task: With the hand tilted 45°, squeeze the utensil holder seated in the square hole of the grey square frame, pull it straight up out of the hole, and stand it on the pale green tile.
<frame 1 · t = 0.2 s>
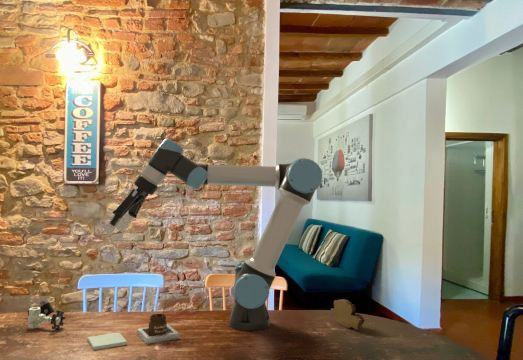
hand: (113, 231, 144), 35 cm above the table, tool tilted 35°, fingers open, 13 cm apart
green tile: (106, 342, 136), on the table
lighter: (40, 318, 161), on the table
utensil holder: (157, 337, 143), resting in grey square frame
wooden carving: (346, 327, 159), on the table
grey square frame: (157, 336, 143), on the table
valve: (43, 328, 149), on the table
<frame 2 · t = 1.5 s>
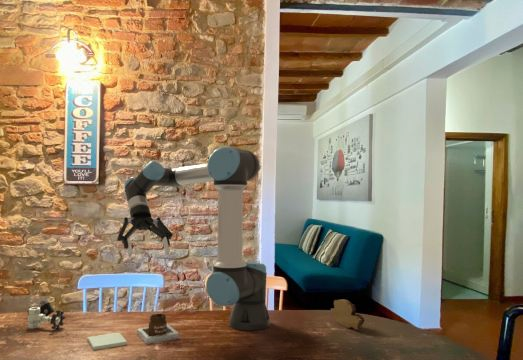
hand: (149, 254, 153), 26 cm above the table, tool tilted 45°, fingers open, 13 cm apart
nothing on the table moved.
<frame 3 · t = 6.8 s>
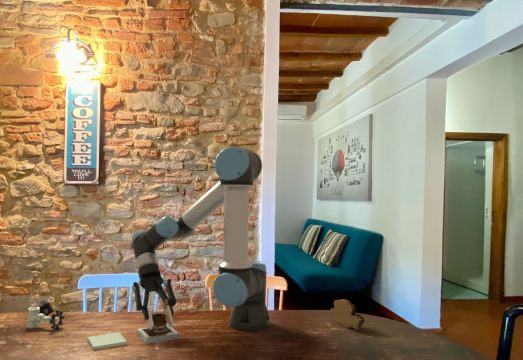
hand: (161, 326, 140), 4 cm above the table, tool tilted 45°, fingers closed on utensil holder, 6 cm apart
utensil holder: (157, 336, 143), resting in grey square frame, touching gripper
everything else where it was.
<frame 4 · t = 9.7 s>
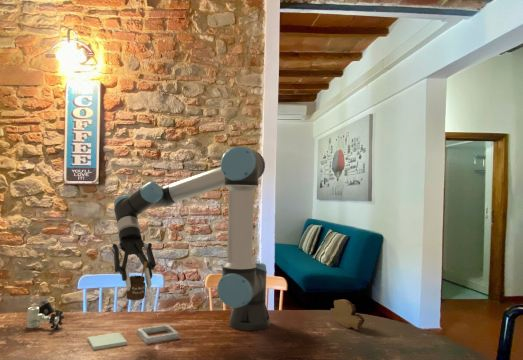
hand: (139, 287, 139), 17 cm above the table, tool tilted 45°, fingers closed on utensil holder, 6 cm apart
utensil holder: (135, 298, 142), point 13 cm above the table, touching gripper
everything else where it was.
when the fingers open (6 cm above the table, at t = 13.0 s): utensil holder stays where it is, resting on green tile.
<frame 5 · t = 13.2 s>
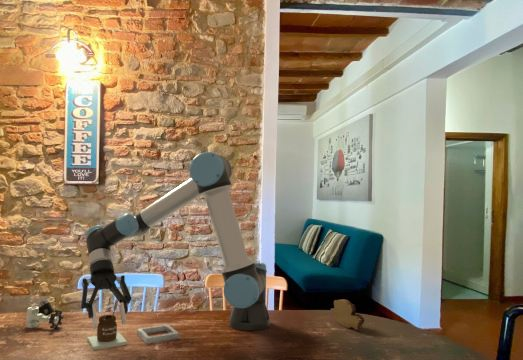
hand: (110, 324, 134), 7 cm above the table, tool tilted 45°, fingers open, 8 cm apart
utensil holder: (107, 339, 137), point 1 cm above the table, touching green tile
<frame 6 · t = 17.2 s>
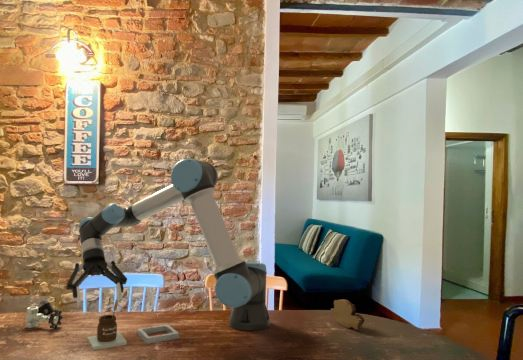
hand: (100, 302, 146), 10 cm above the table, tool tilted 45°, fingers open, 13 cm apart
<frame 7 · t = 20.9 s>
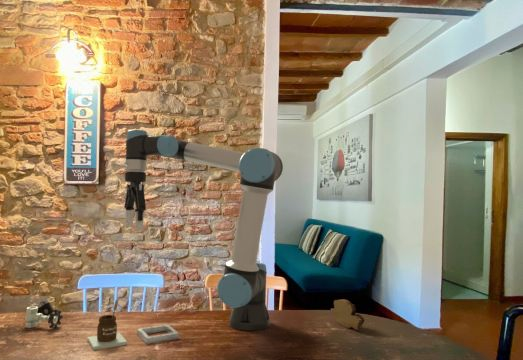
hand: (133, 228, 158), 35 cm above the table, tool pointing down, fingers open, 13 cm apart
at the end: utensil holder 0.0 cm off-centre on the green tile, point 0.8 cm above the green tile's base; utensil holder tilted 0°; the gripper is holding nothing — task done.
